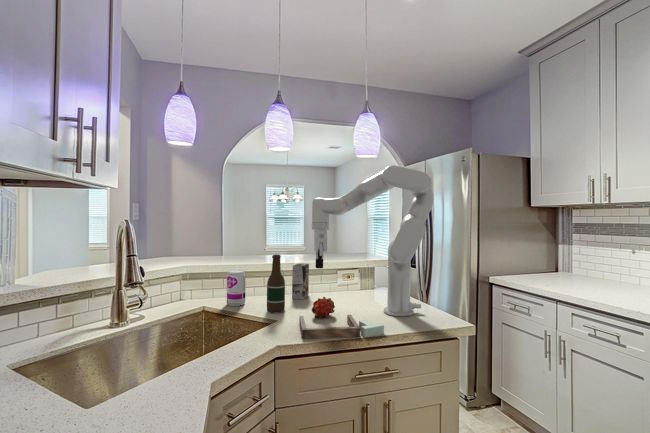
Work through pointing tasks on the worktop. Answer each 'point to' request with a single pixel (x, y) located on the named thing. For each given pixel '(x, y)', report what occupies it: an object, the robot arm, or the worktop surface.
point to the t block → (370, 328)
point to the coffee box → (300, 281)
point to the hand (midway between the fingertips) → (319, 267)
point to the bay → (330, 330)
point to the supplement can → (236, 287)
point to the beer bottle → (276, 288)
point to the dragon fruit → (323, 307)
